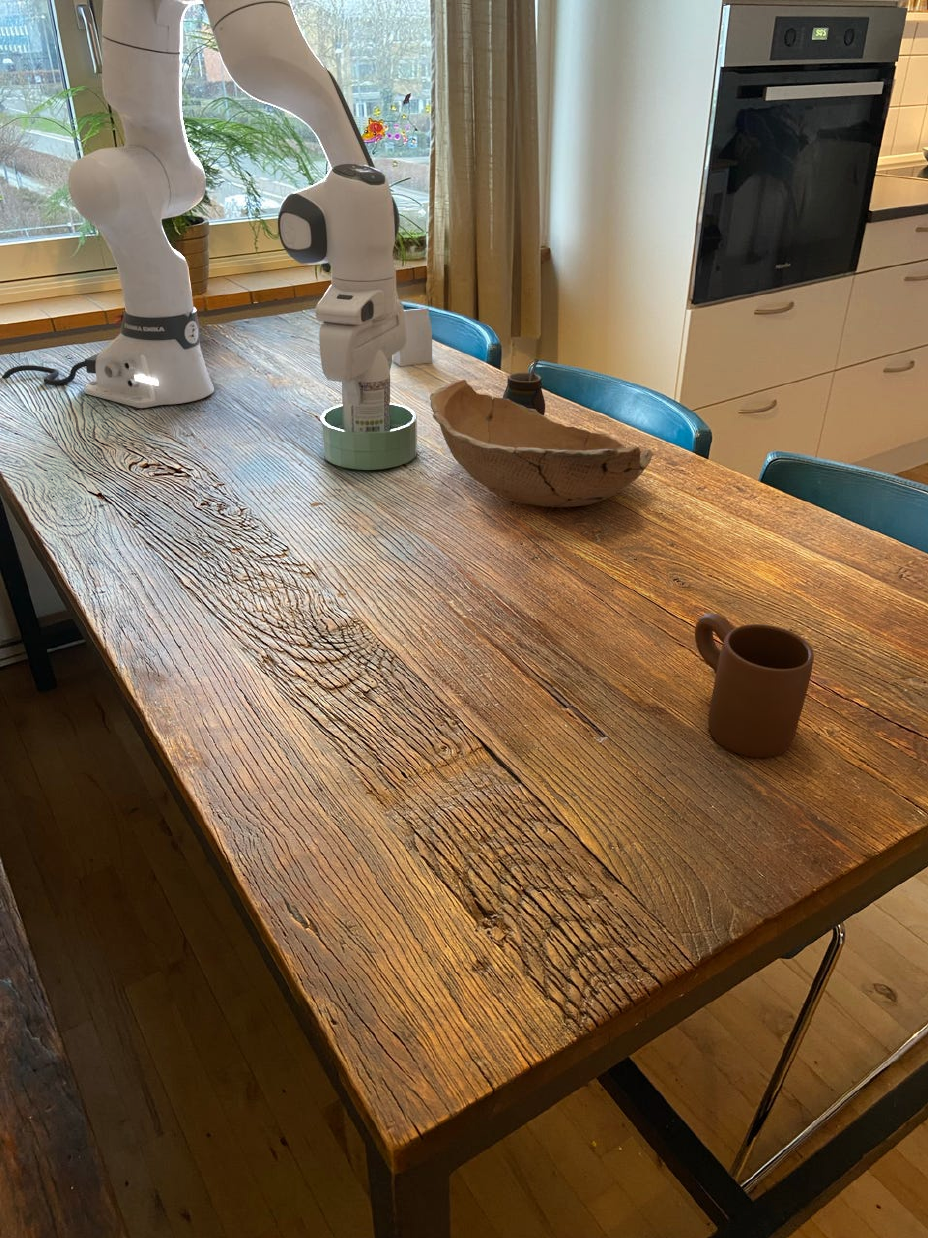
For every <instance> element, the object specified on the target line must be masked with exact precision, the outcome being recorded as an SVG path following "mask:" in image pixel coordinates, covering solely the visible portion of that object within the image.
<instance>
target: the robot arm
mask: <svg viewBox="0 0 928 1238" xmlns="http://www.w3.org/2000/svg"><path fill="white" fill-rule="evenodd" d="M195 4H199V5H200V6H201V7H202V8H203V9H204V10H205V13H206V16H207V19H208V22H209V23H208V24H209V26H210V29H211V32H212V36H213V38H214V42H215V45H216V48H217V51H218V53H219V57H220V59H221V62H222V64H223V66H224V69H225V70H226V71H227V73H228V75H229V77H230V78H231V80H232V81H233V82H234V84H235V85H236V86H237V87H238V88H239V89H240V90H242V91H243V92H244V93H245V94H247V95H248V96H250V97H251V98H253V99H255V100H257V101H259V102H261V103H264V104H267V105H270V106H273V107H276V108H278V109H280V110H282V111H284V112H287V113H288V114H290V115H293V116H294V117H295V118H297V119H299V120H300V121H302V123H304V124H305V125H307V126H308V127H309V128H310V130H312V132H313V133H314V135H315V136H316V138H317V139H318V140H317V141H318V142H319V144H320V146H321V148H322V151H323V154H324V156H325V158H326V160H327V162H328V164H329V167H330V169H329V171H328V172H327V174H326V175H325V177H324V178H323V179H321V180H319V181H318V182H317V183H315V184H313V185H310V186H308V187H306V188H303V189H300V190H297V191H294V192H291V193H289V194H288V195H286V197H284V199H283V201H282V202H281V204H280V207H279V210H278V214H277V231H278V237H279V240H280V243H281V246H282V248H283V249H284V250H285V252H286V254H287V255H288V256H290V258H291V259H292V260H294V261H295V262H297V263H298V264H302V265H310V266H315V265H323V264H329V266H330V269H331V270H330V281H331V284H330V285H329V286H328V288H327V290H326V292H325V293H324V295H323V296H322V298H321V299H320V300H319V301H318V302H317V303H316V305H315V319H316V320H317V322H322V323H321V324H320V327H319V333H318V341H319V354H320V364H321V370H322V373H323V375H324V377H325V379H326V380H327V381H331V382H337V383H341V385H342V384H343V386H344V388H345V390H346V392H347V398H348V404H349V405H353V406H358V405H360V404H361V403H363V391H360V389H359V385H358V382H360V375H361V374H362V373H364V372H366V371H367V370H369V369H371V368H372V365H373V363H374V359H375V355H376V353H377V351H378V350H379V349H380V350H382V352H383V353H384V355H385V357H386V359H387V361H388V365H389V370H390V371H391V368H392V364H393V355H394V354H395V353H397V352H399V351H400V350H402V349H403V348H404V347H405V343H406V326H405V315H404V310H405V309H404V304H403V302H402V301H401V300H400V299H399V293H398V291H397V271H396V266H395V264H394V258H393V252H394V247H395V242H396V240H397V238H398V236H399V231H400V226H401V225H400V224H401V222H400V212H399V208H398V205H397V203H396V200H395V199H394V197H393V195H392V190H391V187H390V183H389V180H388V178H387V176H386V175H385V174H384V173H383V172H382V171H380V170H379V169H378V168H376V166H375V163H374V161H373V159H372V157H371V155H370V152H369V150H368V147H367V146H366V143H365V141H364V138H363V136H362V134H361V131H360V130H359V127H358V125H357V122H356V120H355V117H354V116H353V113H352V111H351V109H350V106H349V105H348V101H347V100H346V98H345V96H344V93H343V91H342V89H341V87H340V85H339V83H338V82H337V80H336V78H335V77H334V75H333V73H332V72H331V71H330V69H328V68H327V67H326V65H324V64H323V63H322V61H321V60H320V59H319V58H318V56H317V55H316V54H315V52H314V51H313V49H312V48H311V46H310V44H309V43H308V40H307V39H306V37H305V36H304V34H303V32H302V30H301V27H300V25H299V22H298V21H297V18H296V15H295V11H294V8H293V6H292V3H291V0H103V1H102V14H101V81H102V82H101V83H102V87H101V89H102V93H103V97H104V99H105V101H106V102H107V104H108V105H109V106H110V108H112V109H113V111H115V112H116V113H117V114H118V117H119V119H120V122H121V125H122V129H123V132H124V133H123V134H124V145H123V146H115V147H104V148H100V149H97V150H94V151H92V152H90V153H88V154H86V155H84V156H82V157H79V158H78V159H77V160H75V162H73V163H72V165H71V167H70V168H69V172H68V177H67V188H68V193H69V196H70V200H71V202H72V203H73V206H74V208H75V209H76V211H77V212H78V213H79V215H80V216H81V217H82V218H83V219H84V220H86V221H87V222H89V224H91V225H92V226H93V227H94V228H96V230H97V231H98V232H99V233H100V235H101V237H102V238H103V239H104V241H105V243H106V245H107V247H108V249H109V250H110V253H111V255H112V258H113V260H114V263H115V266H116V269H117V273H118V278H119V283H120V287H121V292H122V298H123V303H124V311H122V312H121V313H120V314H118V315H115V316H113V317H112V318H113V319H116V320H114V321H113V323H114V324H119V323H121V324H120V333H119V334H118V335H117V336H116V337H115V338H114V339H113V340H112V341H111V342H110V343H109V344H108V345H107V346H105V347H104V348H103V349H102V350H101V351H100V352H98V353H95V354H93V355H91V356H90V357H87V358H85V359H84V360H83V361H80V362H78V363H76V364H74V365H73V366H72V367H71V369H70V373H69V375H68V376H67V377H64V378H60V379H56V378H57V377H59V375H60V372H59V370H57V369H55V368H52V367H47V366H41V365H33V364H25V365H16V366H14V367H11V368H9V369H8V370H7V371H5V372H4V373H3V375H2V376H1V379H8V378H10V377H11V376H12V375H14V374H16V373H19V372H24V371H27V372H28V371H30V372H31V371H32V372H33V371H34V372H42V373H46V374H48V375H46V376H44V378H43V379H42V382H43V384H46V385H48V386H63V385H67V384H70V383H71V382H73V381H74V380H75V378H76V374H77V372H78V371H79V370H81V369H82V368H85V370H86V373H87V374H95V379H93V380H91V381H90V382H88V383H87V384H86V385H85V386H84V394H86V395H89V396H92V397H96V398H100V399H104V400H107V401H112V402H115V403H119V404H123V405H126V406H129V407H130V406H131V407H133V408H136V409H137V408H138V409H145V408H146V409H147V408H152V407H157V406H158V407H159V406H164V405H165V406H167V405H169V406H170V405H178V404H185V403H190V402H196V401H199V400H202V399H204V398H206V397H208V396H211V395H212V394H213V393H214V392H215V387H214V384H213V383H212V380H211V377H210V374H209V372H208V369H207V366H206V363H205V359H204V356H203V351H202V348H201V347H202V346H201V343H200V323H199V317H198V312H197V308H196V307H195V306H194V300H193V293H192V286H191V285H192V284H191V279H190V271H189V265H188V262H187V260H186V258H185V257H184V256H183V255H182V253H181V252H179V251H177V250H176V249H174V248H173V247H172V245H171V243H170V242H169V241H170V240H169V239H168V238H167V235H166V232H165V230H164V225H163V221H162V220H165V219H169V218H175V217H179V216H181V215H184V214H185V213H187V212H189V211H190V210H191V209H193V208H195V207H196V206H198V204H200V203H201V202H202V200H203V199H204V196H205V194H206V189H207V178H206V173H205V170H204V167H203V165H202V163H201V160H199V158H198V157H197V155H196V154H195V153H194V152H193V150H192V148H191V147H190V144H189V142H188V137H187V134H186V133H187V132H186V129H185V124H184V120H183V112H182V111H183V109H182V65H183V64H182V63H183V62H182V61H183V60H182V59H183V21H184V16H185V13H186V12H187V10H188V8H190V7H191V6H192V5H195Z"/></svg>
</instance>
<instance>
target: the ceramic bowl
mask: <svg viewBox="0 0 928 1238" xmlns="http://www.w3.org/2000/svg"><path fill="white" fill-rule="evenodd" d="M429 400H430V408H431V410H432V412H433V414H432V417H433V419H434V420H435V421H436V423H437V424H439V427H440V431H441V434H442V436H443V439H444V441H445V443H446V446H447V447H448V449H449V451H450V452H451V455H452V457H453V458H454V459H455V461H456V462H457V463H458V465H460V466H461V467H462V468H463V469H464V471H465V472H466V473H467V474H469V476H470V477H471V478H473V480H475V481H476V482H478V483H479V484H480V485H482V486H483V487H485V488H487V489H488V490H489V492H492V493H493V494H496V495H497V496H500V497H502V498H504V499H506V500H508V501H509V502H517V503H521V504H526V505H531V506H539V507H545V508H546V507H549V508H571V507H572V508H573V507H580V506H581V507H582V506H587V505H592V504H596V503H600V502H603V501H605V500H607V499H610V498H611V497H613V496H614V495H616V494H619V493H620V492H621V491H623V490H624V489H626V488H627V487H629V486H630V485H631V484H632V483H633V482H635V481H636V480H637V479H638V478H639V477H640V476H641V474H643V472H644V471H645V469H646V468H647V467H649V464H650V463H651V461H652V457H653V456H654V455H655V454H654V452H653V451H652V449H647V448H645V449H643V450H641V448H640V446H636V445H634V446H625V445H624V444H623V443H621V442H619V441H617V440H616V439H614V438H612V437H610V436H609V435H607V434H605V433H598V432H591V431H589V430H587V429H581V428H578V427H575V426H566V425H564V424H562V423H559V422H555V421H553V420H552V419H550V418H549V417H547V416H546V415H544V416H543V415H541V414H540V413H538V412H537V411H536V410H535V409H528V408H526V407H524V406H522V405H519V404H516V403H514V402H512V401H511V400H509V399H504V398H503V397H498V396H497V397H496V396H491V395H489V394H482V393H481V394H480V393H479V392H477V391H475V389H474V388H473V387H472V386H471V385H469V384H468V382H467V380H466V379H458V380H453V381H450V383H446V384H444V385H443V386H441V387H437V388H436V389H435V390H434V392H432V393H431V394H430V396H429Z"/></svg>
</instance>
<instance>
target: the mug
mask: <svg viewBox="0 0 928 1238" xmlns="http://www.w3.org/2000/svg"><path fill="white" fill-rule="evenodd" d="M714 634H715V635H716V636H717V638H718V639H719V641H721V643H722V646H721V650H720V649H719V648H718V646H717V645H716V642H715V639H714ZM694 639H695V645H696V648H697V651H698V653H699V655H700V656H701V658H702V659H703V660H704V662H705V663H706V664H707V665H709V666H710V668H711V669H712V670H713V672H714V674H715V677H714V682H713V689H712V693H711V699H710V705H709V709H708V715H707V716H708V717H707V724H708V725H707V726H708V730H709V733H710V735H711V736H712V737H713V738H714V740H715V741H716V742H717V743H718V744H719V745H721V747H723V748H725V749H727V750H728V751H731V752H733V753H735V754H737V755H741V756H745V757H748V758H749V757H750V758H758V759H759V758H763V759H764V758H772V757H776V756H779V755H781V754H783V753H784V752H786V751H787V750H788V749H789V748H790V747H791V745H792V744H793V742H794V740H795V736H796V733H797V729H798V726H799V722H800V718H801V715H802V712H803V709H804V705H805V700H806V696H807V693H808V689H809V685H810V681H811V677H812V672H813V664H814V659H815V655H814V650H813V648H812V646H811V645H810V643H809V642H808V641H807V640H806V639H804V638H803V637H802V636H800V635H799V634H797V633H795V632H792V631H791V630H789V629H786V628H783V627H779V626H775V625H769V624H764V623H763V624H762V623H754V624H753V623H751V624H744V625H740V626H737V627H734V626H733V624H732V623H731V622H730V620H729V619H727V618H726V617H725V616H722V615H721V614H719V613H713V612H708V613H705V614H703V615H701V616H700V618H699V619H698V620H697V622H696V625H695V628H694Z"/></svg>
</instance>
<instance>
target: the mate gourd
mask: <svg viewBox="0 0 928 1238" xmlns="http://www.w3.org/2000/svg"><path fill="white" fill-rule="evenodd" d="M539 360H540V359H537V358H534V362H533V364H532V367H531V370H530V372H514V373H513V372H512V373H511V374H509V375H507V379H506V380H507V381H506V384H507V385H506V388H505V390H504V392H503V395H502V398H504V399H509V400H511V401H512V402H514V403H516V404H519V405H522V406H524V407H526V408H528V409H535V410H536V411H537V412H538V413H540V414H541V415H543V416H545V413H546V401H545V396H544V393H543V389H542V386H543V383H542V380H543V378H542V376H540V375H539V374H536V373H535V371H536V368H537V365H538V363H539Z"/></svg>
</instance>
